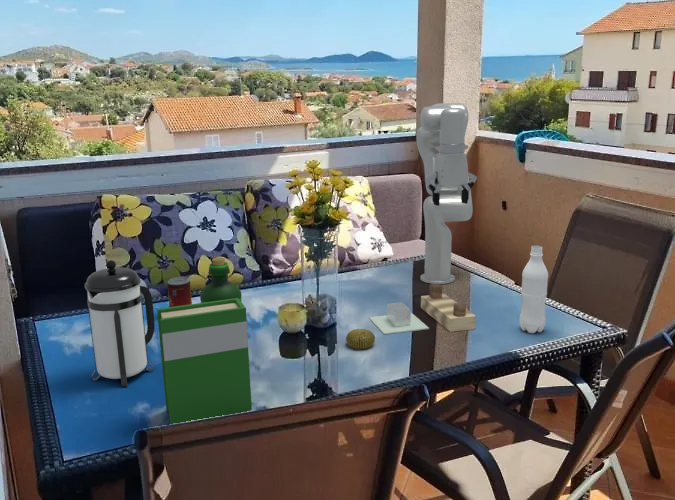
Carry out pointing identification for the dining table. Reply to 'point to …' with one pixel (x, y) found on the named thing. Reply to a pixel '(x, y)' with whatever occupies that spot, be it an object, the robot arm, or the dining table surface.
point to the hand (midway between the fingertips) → (450, 204)
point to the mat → (388, 328)
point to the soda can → (179, 291)
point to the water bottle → (534, 292)
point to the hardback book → (205, 359)
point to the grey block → (398, 314)
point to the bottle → (219, 283)
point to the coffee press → (119, 322)
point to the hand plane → (447, 310)
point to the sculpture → (360, 338)
